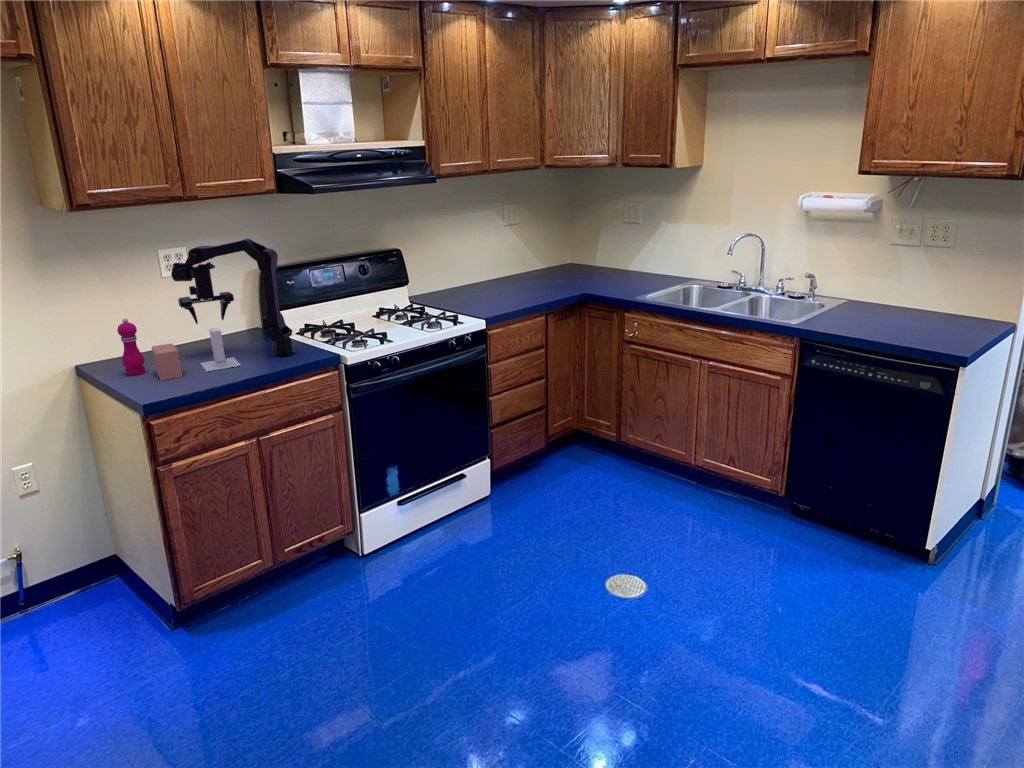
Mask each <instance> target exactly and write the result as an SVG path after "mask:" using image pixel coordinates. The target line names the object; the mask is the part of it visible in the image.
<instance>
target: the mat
mask: <svg viewBox="0 0 1024 768" xmlns="http://www.w3.org/2000/svg"><path fill="white" fill-rule="evenodd" d="M225 360H226V365H224V366H217V365H216V364H215V361H214V360H211V361H203V362H200V363H199V364H200V366H201V365H202V366H201V367H202V368H203V370H204V369H205V370H204V371H205V372H206V373H209V372H208V371H212V372H214V371H213V370H217V371H220V370H219V369H223V370H226V369H225V368H229V369H232V368H231V367H235V368H238V367H237V366H240V367H242V365H241V363H240V362H239V361H238V360H237V359H236V357H229V358H228V357H227V358H225Z"/></svg>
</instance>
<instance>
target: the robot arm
mask: <svg viewBox="0 0 1024 768" xmlns="http://www.w3.org/2000/svg"><path fill="white" fill-rule="evenodd" d="M239 252H245V253H246V254H247V255H248V256H249V257H250V258H251V259H253V260H254V261H256V264H257V268H258V269H259V271H260V273H261V275H262V282H263V290H264V298H265V307H266V315H265V316H263V317H262V318H261V320H262V324H263V326H262V330H264V332H265V334H267V336H269V338H270V340H271V342H272V344H273V353H271V355H272V356H276V357H280V358H281V357H282V358H285V357H288V356H291V355H294V354H296V353H297V351H295V350H293V344H292V338H290V337H291V336H292V335H293V330H292V328H290V327H289V326H287V325H286V321H285V318H284V316H283V313H282V312H281V310H280V303H279V302H280V301H279V294H278V285H277V277H276V272H277V269H278V260H279V258H278V257H279V256H278V253H277V251H276V250H274V249H273V248H268V247H266V246H265V245H263V244H260V243H258V242H256V241H254V240H252V238H251V239H250V238H244V239H241V240H237V241H232V242H227V243H223V244H219V245H199V246H195V247H193V248H190V249H189V251H188V254H187V256H188V257H187V258H186V261H184V262H173V263H172V267H171V273H170V274H171V278H172V280H173V281H174V282H192V281H193V280H194V285H191V286H189V287H188V290H189V295H190V296H195V298H191V297H190V296H183V297H178V299H177V300H178V301H177V302H178V306H179V307H180V308H181V309H182V308H184V310H188V312H189V313H190V315H191V317H192V318H193V320H194V322H195V324H196V325H199V323H198V319H197V318H198V317H197V313H196V311H195V307H194V306H193V304H202V303H208V302H209V303H210V302H217V301H219V305H220V316H221V317H220V318H221V320H222V321H224V319H225V315H226V312H227V310H228V307H229V305H231V303H232V302H234V301H235V298H234V294H233V293H231V292H230V291H222V292H219V294H218V295H215V293H214V288H213V281H212V275H211V270H213V269H215V268H216V265H214V264H212V262H211V261H209V260H212V259H214V258H217V257H220V256H225V255H230V254H234V253H239ZM206 261H208V262H206ZM204 262H206V263H204ZM202 263H203V264H202ZM195 265H197V266H195Z"/></svg>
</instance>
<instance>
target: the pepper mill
mask: <svg viewBox="0 0 1024 768" xmlns="http://www.w3.org/2000/svg"><path fill="white" fill-rule="evenodd" d="M137 331H138V329H137V327H136V325H135V324H134V323H133V322H129V319H128V318H122V323H120V324H118V326H117V331H116V332H117V333H118V335H119V336H120V342H122V343H123V344H122V345H123V354H122V357H121V365H122V366H123V367H125V369H124V370H125V375H126V376H129V377H130V376H131V377H132V376H138V375H142V373H143V374H145V373H146V368H145V366H144V364H145V360H146V359H145V357H144V355H143V353H142V352H141V351H140V349H139V347H138V345H137V340H138V338H137Z"/></svg>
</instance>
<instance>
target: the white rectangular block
mask: <svg viewBox="0 0 1024 768" xmlns="http://www.w3.org/2000/svg"><path fill="white" fill-rule="evenodd" d="M208 331H209V335H210V341H211V342H210V343H211V348H212V349H211V350H212V355H213V361H215V364H216V365H217V366H224V365H226V360H225V359H226V356H225V349H224V344H223V337H222V330H221V329H220V328H219V327H214V328H209V329H208Z"/></svg>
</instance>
